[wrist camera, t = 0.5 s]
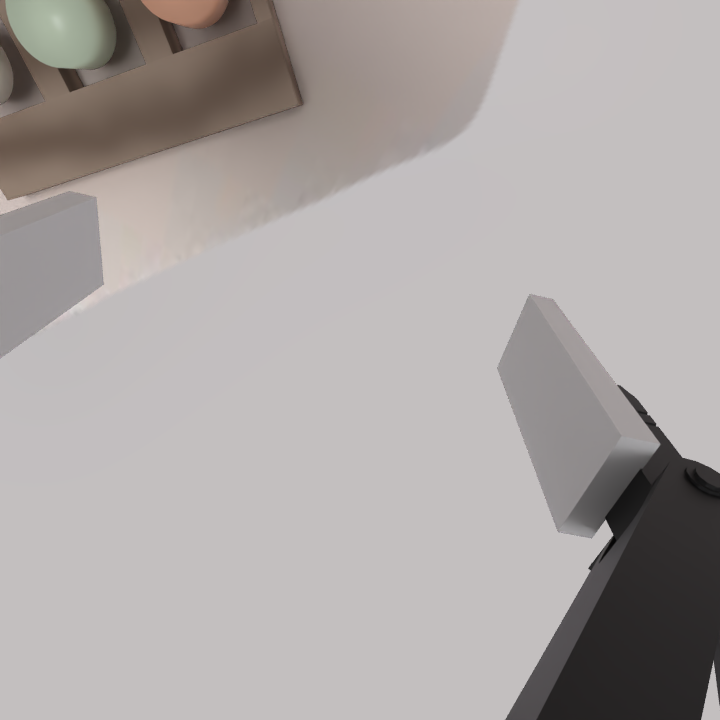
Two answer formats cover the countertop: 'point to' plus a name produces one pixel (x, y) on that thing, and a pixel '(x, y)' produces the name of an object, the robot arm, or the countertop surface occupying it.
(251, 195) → the countertop surface
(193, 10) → the terracotta button
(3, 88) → the cream button
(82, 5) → the sage button
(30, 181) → the wooden tray
